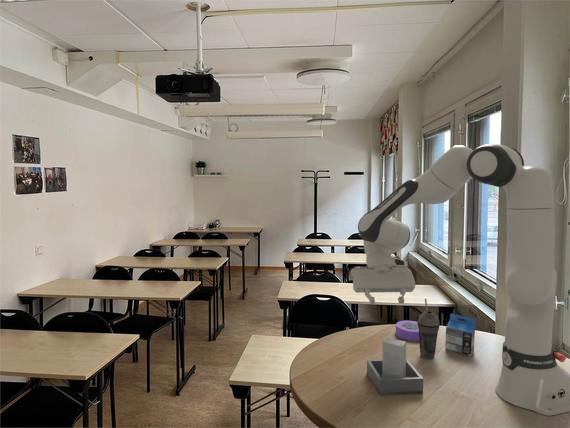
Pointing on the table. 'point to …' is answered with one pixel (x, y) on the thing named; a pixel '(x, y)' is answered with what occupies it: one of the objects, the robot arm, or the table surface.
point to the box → (395, 380)
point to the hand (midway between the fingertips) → (387, 302)
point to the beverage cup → (428, 333)
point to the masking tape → (407, 330)
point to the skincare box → (394, 359)
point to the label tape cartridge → (460, 335)
